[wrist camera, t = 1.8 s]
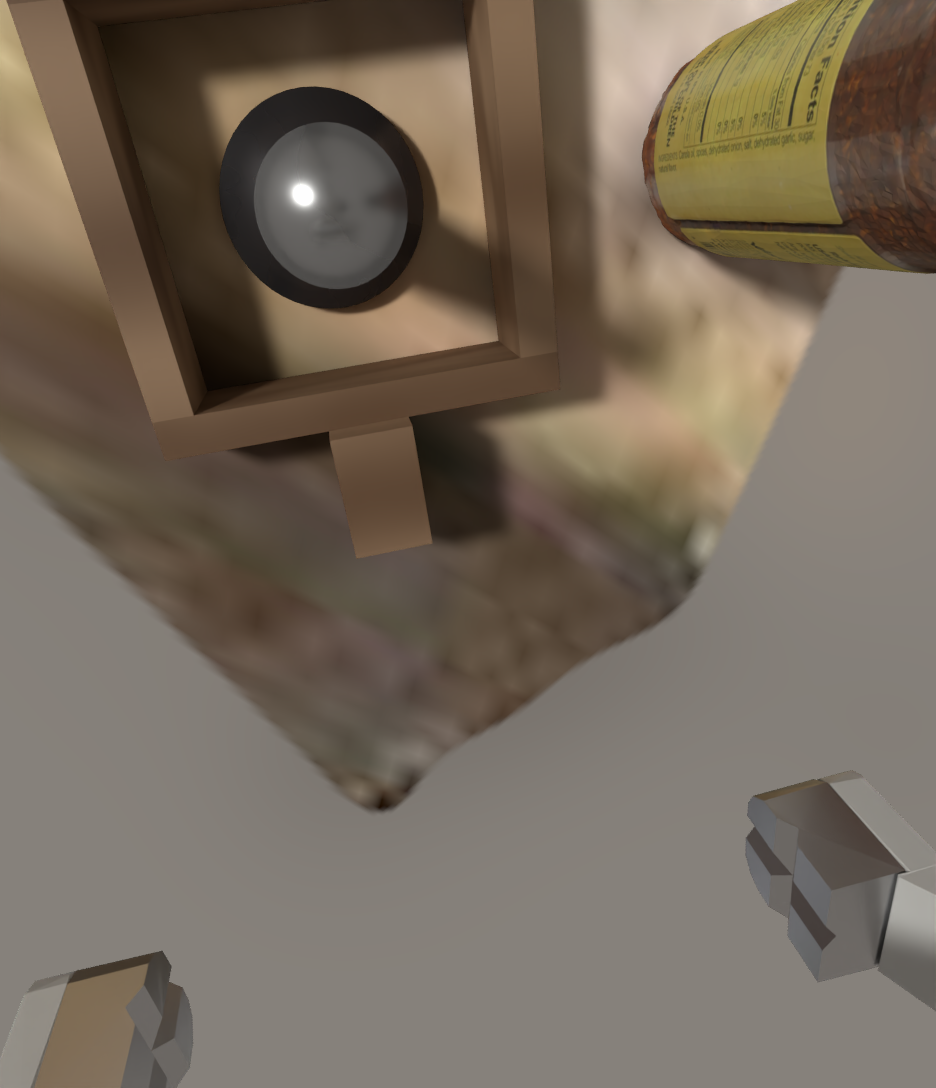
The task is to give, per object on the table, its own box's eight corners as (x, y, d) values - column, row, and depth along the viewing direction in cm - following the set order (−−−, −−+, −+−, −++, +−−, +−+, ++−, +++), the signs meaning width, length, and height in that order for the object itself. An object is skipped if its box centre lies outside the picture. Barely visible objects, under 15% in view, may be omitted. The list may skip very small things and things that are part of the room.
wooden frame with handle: (32, -25, 18) (-35, -78, 15) (497, -74, 20) (536, -133, 16) (216, 536, 26) (200, 590, 22) (543, 472, 27) (577, 513, 24)
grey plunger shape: (195, 103, 20) (63, -3, 10) (403, 76, 21) (494, -49, 10) (252, 319, 23) (197, 424, 12) (433, 290, 24) (530, 364, 13)
